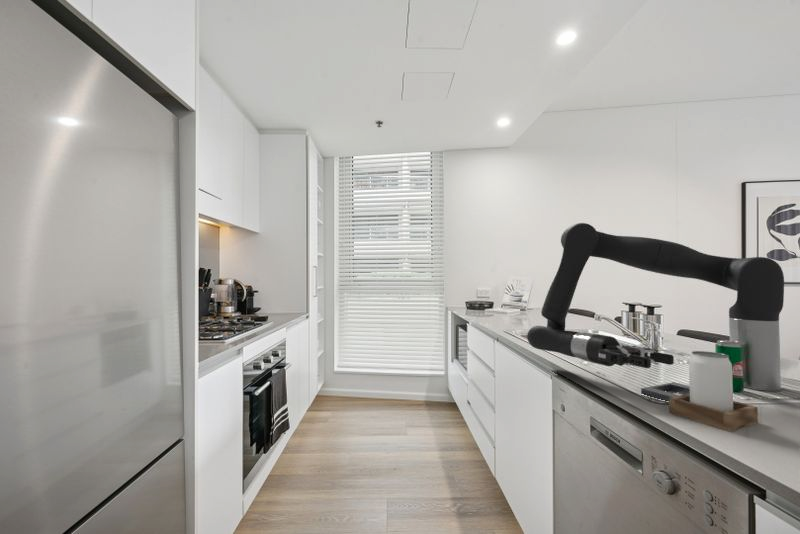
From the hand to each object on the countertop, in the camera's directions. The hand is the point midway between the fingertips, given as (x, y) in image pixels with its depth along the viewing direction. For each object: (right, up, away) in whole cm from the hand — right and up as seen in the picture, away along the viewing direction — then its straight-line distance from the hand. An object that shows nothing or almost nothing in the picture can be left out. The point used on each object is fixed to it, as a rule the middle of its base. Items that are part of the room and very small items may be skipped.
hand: (661, 361), depth 79 cm
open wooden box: (+4, -9, -8) cm, 13 cm away
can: (+4, -9, -8) cm, 12 cm away
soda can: (+24, -10, +10) cm, 28 cm away
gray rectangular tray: (+7, -9, +4) cm, 12 cm away
